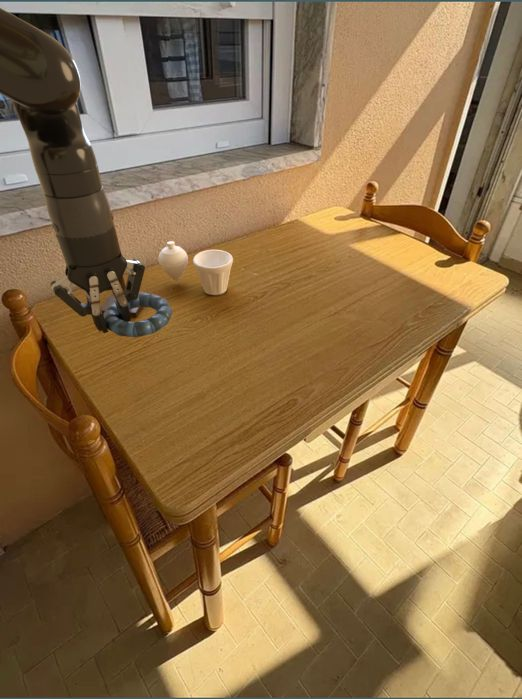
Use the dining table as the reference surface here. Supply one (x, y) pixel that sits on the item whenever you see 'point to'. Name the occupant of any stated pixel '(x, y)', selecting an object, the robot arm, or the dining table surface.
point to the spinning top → (173, 261)
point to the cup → (213, 270)
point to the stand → (133, 312)
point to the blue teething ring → (141, 326)
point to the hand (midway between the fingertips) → (114, 326)
